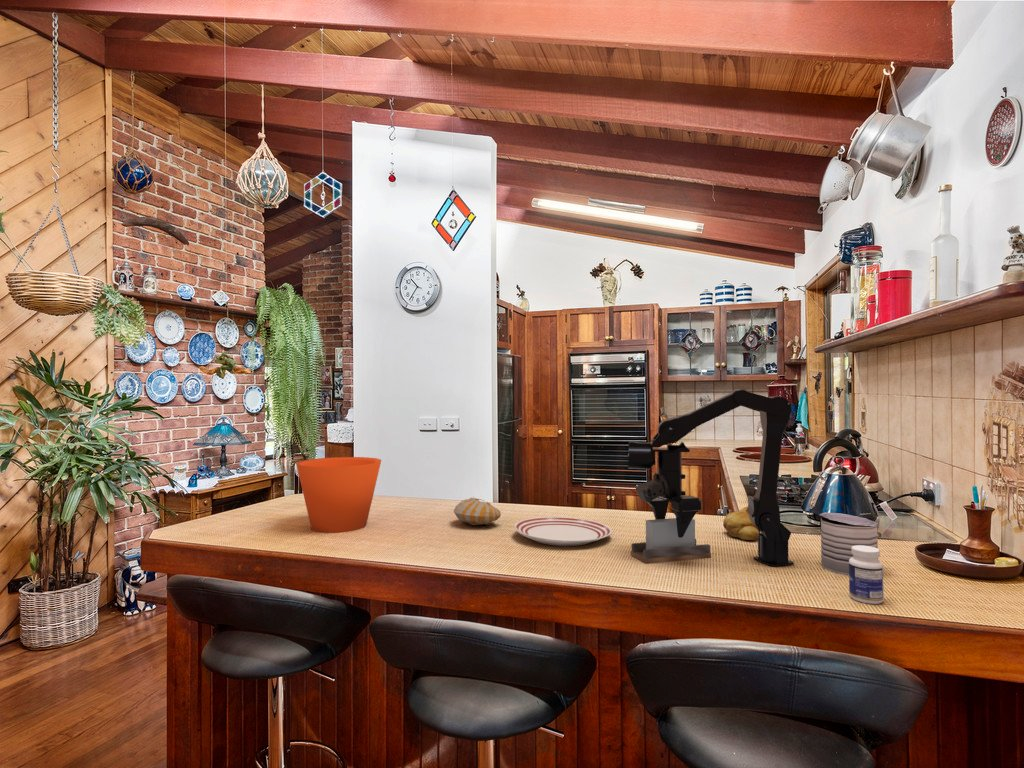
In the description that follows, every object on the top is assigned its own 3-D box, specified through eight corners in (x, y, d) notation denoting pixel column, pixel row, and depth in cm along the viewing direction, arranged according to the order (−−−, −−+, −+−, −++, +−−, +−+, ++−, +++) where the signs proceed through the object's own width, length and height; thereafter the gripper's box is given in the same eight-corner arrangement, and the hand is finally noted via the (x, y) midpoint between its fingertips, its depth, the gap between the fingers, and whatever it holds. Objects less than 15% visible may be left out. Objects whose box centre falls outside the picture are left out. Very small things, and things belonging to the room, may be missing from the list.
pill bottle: (851, 592, 112) (851, 542, 113) (885, 598, 109) (884, 547, 109) (847, 600, 108) (846, 548, 108) (882, 607, 104) (881, 554, 105)
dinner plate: (608, 527, 168) (608, 516, 168) (616, 553, 141) (616, 539, 141) (518, 525, 171) (518, 514, 171) (509, 550, 144) (509, 537, 144)
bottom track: (693, 549, 143) (693, 538, 143) (711, 557, 136) (710, 545, 136) (631, 555, 138) (630, 543, 138) (645, 563, 131) (645, 550, 131)
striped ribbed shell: (461, 516, 186) (505, 519, 184) (447, 527, 164) (497, 531, 163) (462, 492, 186) (506, 495, 185) (448, 500, 165) (498, 504, 163)
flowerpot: (298, 520, 177) (298, 458, 178) (378, 515, 185) (378, 455, 185) (292, 539, 154) (292, 468, 154) (384, 532, 161) (384, 464, 161)
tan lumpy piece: (765, 543, 149) (765, 513, 149) (726, 541, 152) (726, 512, 152) (757, 532, 162) (756, 504, 162) (721, 530, 164) (721, 503, 164)
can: (825, 558, 135) (825, 509, 136) (881, 567, 128) (880, 515, 128) (816, 570, 126) (815, 517, 127) (875, 580, 119) (874, 524, 120)
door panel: (688, 548, 140) (687, 517, 140) (695, 552, 137) (695, 519, 138) (645, 552, 137) (645, 520, 137) (652, 555, 134) (652, 522, 134)
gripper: (622, 466, 144) (623, 526, 144) (660, 476, 126) (661, 545, 126) (660, 464, 147) (661, 523, 147) (703, 474, 130) (703, 541, 129)
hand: (670, 532), depth 137 cm, fingers open, 9 cm apart
